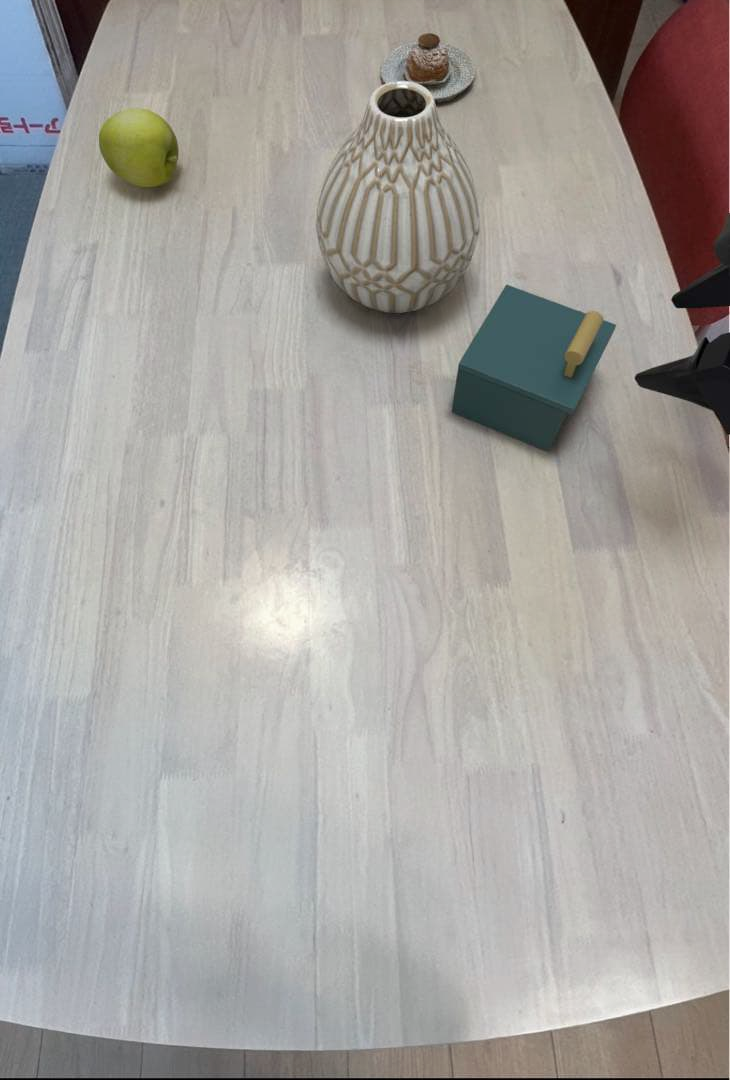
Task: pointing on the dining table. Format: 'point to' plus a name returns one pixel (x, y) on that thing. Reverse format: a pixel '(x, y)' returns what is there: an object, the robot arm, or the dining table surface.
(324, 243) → the vase
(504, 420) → the teal open box
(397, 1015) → the dining table surface
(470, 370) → the box lid
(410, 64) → the pastry
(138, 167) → the apple
